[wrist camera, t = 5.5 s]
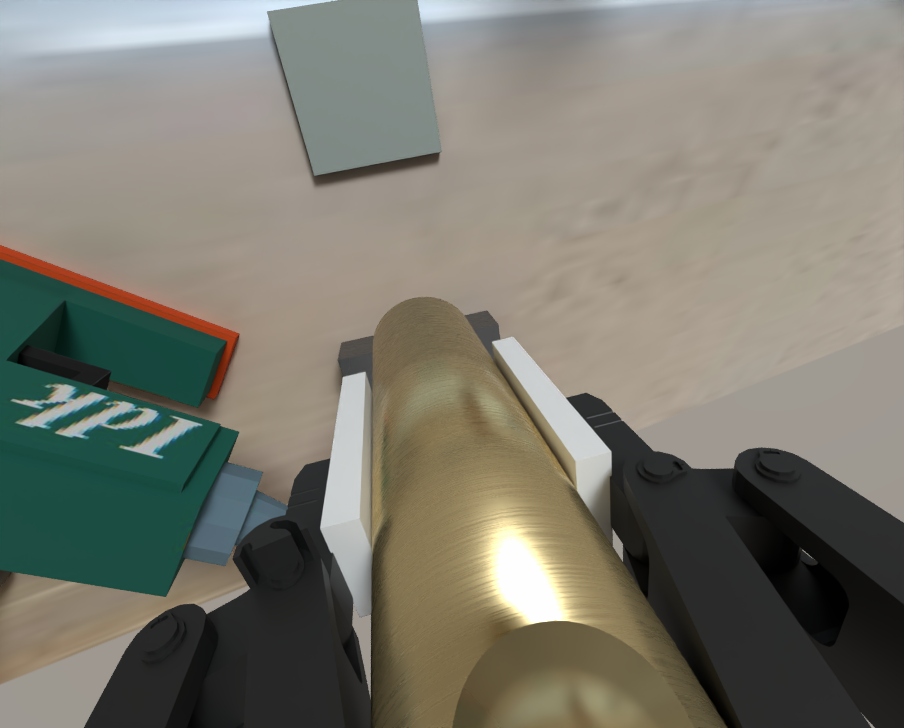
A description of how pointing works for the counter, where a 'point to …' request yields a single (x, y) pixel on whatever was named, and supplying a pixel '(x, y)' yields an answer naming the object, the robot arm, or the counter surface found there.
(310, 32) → the pad
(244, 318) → the counter surface
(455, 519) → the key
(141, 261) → the counter surface
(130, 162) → the counter surface
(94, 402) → the power tool
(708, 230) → the counter surface
